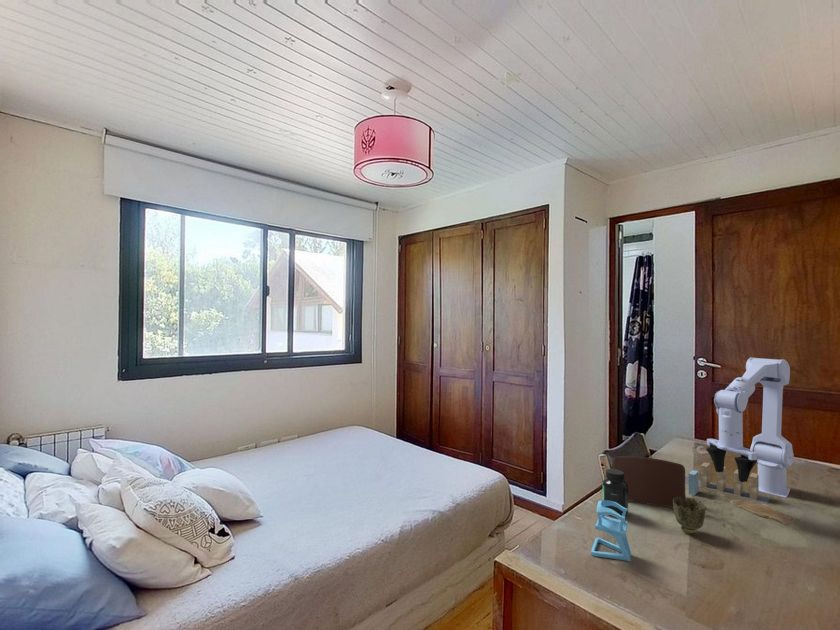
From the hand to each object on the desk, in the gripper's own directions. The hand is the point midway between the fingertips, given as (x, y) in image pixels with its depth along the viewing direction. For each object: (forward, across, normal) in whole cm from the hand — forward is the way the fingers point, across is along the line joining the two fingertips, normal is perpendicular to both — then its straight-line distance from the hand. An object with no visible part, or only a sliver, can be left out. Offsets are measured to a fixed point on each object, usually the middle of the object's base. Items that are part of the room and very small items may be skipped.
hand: (731, 476), depth 122 cm
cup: (+10, +9, -23) cm, 27 cm away
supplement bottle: (+10, -5, -36) cm, 37 cm away
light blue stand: (+10, +14, -50) cm, 53 cm away
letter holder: (+10, -12, -19) cm, 25 cm away
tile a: (+9, -16, +7) cm, 20 cm away
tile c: (+9, -8, +12) cm, 17 cm away
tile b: (+9, -12, +9) cm, 18 cm away
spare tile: (+10, -11, -2) cm, 15 cm away
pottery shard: (+10, +3, +6) cm, 13 cm away
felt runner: (+10, -13, +9) cm, 19 cm away
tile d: (+9, -5, +14) cm, 17 cm away
